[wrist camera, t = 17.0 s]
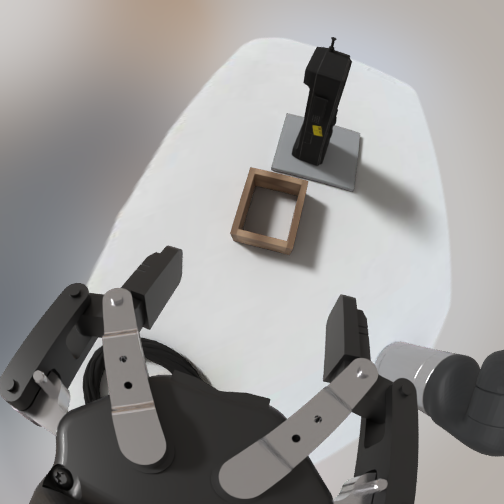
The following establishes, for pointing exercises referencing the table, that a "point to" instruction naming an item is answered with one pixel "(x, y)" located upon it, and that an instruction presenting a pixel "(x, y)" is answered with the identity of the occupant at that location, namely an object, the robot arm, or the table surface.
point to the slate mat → (335, 161)
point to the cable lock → (151, 352)
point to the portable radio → (321, 102)
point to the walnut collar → (253, 179)
